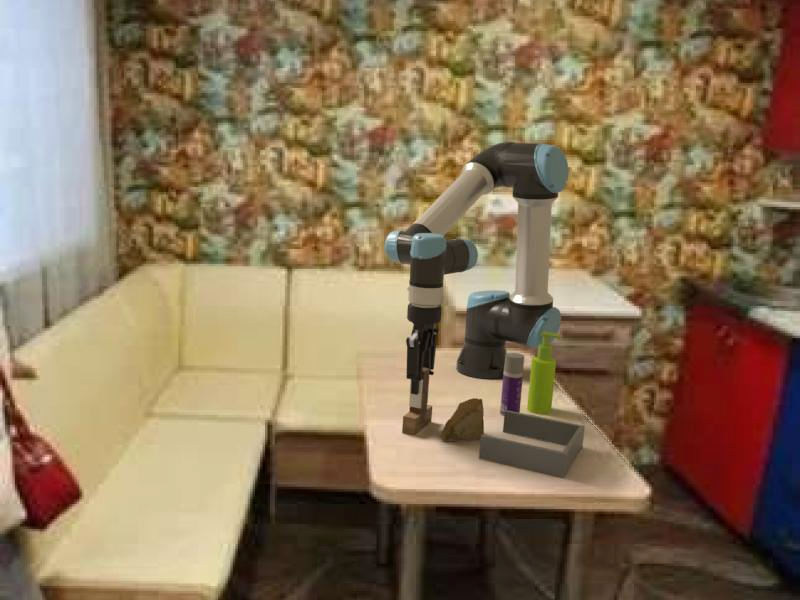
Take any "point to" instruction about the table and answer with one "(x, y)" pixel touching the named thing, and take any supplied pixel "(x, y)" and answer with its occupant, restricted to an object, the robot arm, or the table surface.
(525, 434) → the box
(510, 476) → the table surface
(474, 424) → the rock
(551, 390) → the soap dispenser
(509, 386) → the container
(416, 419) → the brown t-shaped block
